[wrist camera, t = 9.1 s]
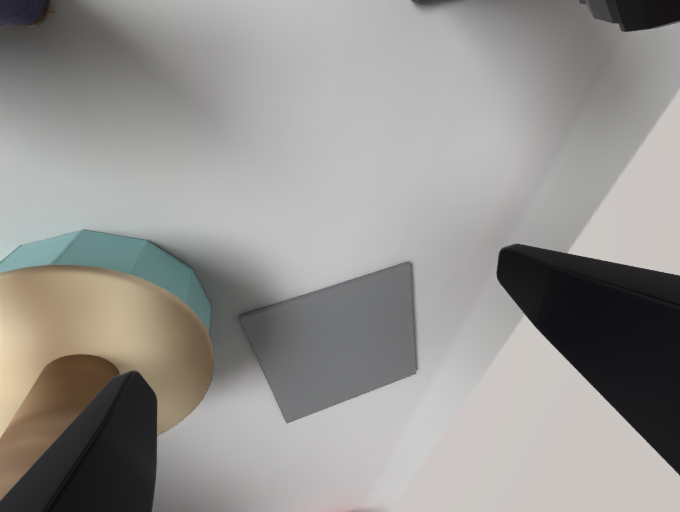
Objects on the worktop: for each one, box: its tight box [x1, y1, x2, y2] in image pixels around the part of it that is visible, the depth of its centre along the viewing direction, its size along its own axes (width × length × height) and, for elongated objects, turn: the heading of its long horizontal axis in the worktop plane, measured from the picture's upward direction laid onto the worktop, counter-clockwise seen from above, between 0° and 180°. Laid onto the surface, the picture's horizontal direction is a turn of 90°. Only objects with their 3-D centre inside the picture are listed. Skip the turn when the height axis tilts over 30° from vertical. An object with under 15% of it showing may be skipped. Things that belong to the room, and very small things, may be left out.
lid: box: [0, 265, 214, 500], centre depth 14 cm, size 12×12×7 cm
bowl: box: [0, 230, 211, 335], centre depth 18 cm, size 11×11×4 cm
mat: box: [239, 262, 416, 423], centre depth 27 cm, size 13×13×1 cm
